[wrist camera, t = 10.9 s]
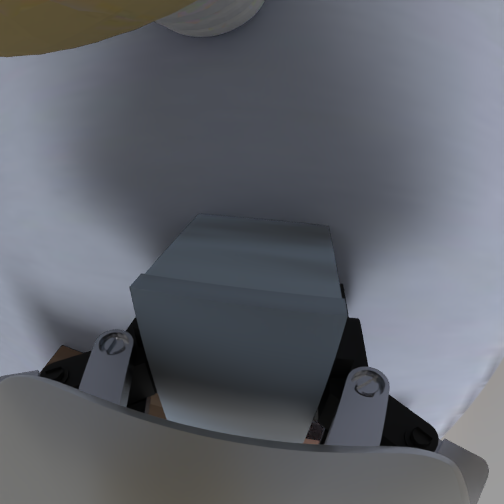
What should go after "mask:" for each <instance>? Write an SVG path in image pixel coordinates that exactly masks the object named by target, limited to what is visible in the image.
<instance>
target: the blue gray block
mask: <svg viewBox="0 0 504 504" xmlns="http://www.w3.org/2000/svg"><path fill="white" fill-rule="evenodd" d="M130 292H131V296H132V301H133V305H134V310H135V314H136V318H137V322H138V326H139V330H140V334H141V338H142V342H143V346H144V349H145V353H146V356H147V360H148V363H149V367H150V370H151V373H152V377H153V380H154V383H155V386H156V389H157V392H158V395H159V398H160V401H161V404H162V407H163V410H164V413H165V416H166V418H167V420H169V421H173V422H177V423H181V424H185V425H189V426H193V427H197V428H202V429H206V430H211V431H216V432H221V433H226V434H232V435H238V436H244V437H250V438H257V439H264V440H272V441H281V442H291V443H304V440H305V438H306V436H307V433H308V431H309V428H310V426H311V423H312V421H313V418H314V416H315V413H316V411H317V408H318V405H319V403H320V400H321V397H322V394H323V392H324V389H325V386H326V383H327V380H328V378H329V375H330V372H331V369H332V366H333V363H334V360H335V357H336V353H337V350H338V347H339V344H340V341H341V337H342V334H343V331H344V327H345V324H346V320H347V317H348V314H347V308H346V302H345V299H343V298H342V296H341V289H340V283H339V277H338V272H337V266H336V261H335V255H334V250H333V245H332V240H331V235H330V230H329V226H324V225H315V224H306V223H296V222H286V221H276V220H266V219H255V218H244V217H233V216H221V215H208V214H198V215H197V217H196V218H195V219H194V220H193V221H192V222H191V223H190V224H189V225H188V226H187V227H186V228H185V229H184V231H183V232H182V233H181V234H180V235H179V236H178V237H177V238H176V239H175V240H174V241H173V243H172V244H171V245H170V246H169V247H168V248H167V249H166V250H165V251H164V253H163V254H162V255H161V256H160V257H159V258H158V259H157V261H156V262H155V263H154V264H153V265H152V266H151V267H150V269H149V270H148V271H147V272H146V273H145V274H140V276H139V277H138V278H137V279H136V280H135V281H134V282H133V284H132V285H131V286H130Z"/></svg>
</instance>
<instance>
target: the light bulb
mask: <svg viewBox="0 0 504 504" xmlns="http://www.w3.org/2000/svg"><path fill="white" fill-rule="evenodd" d="M264 1H265V0H0V57H13V56H25V55H41V54H46V53H50V52H55V51H60V50H66V49H71V48H76V47H80V46H84V45H88V44H92V43H96V42H99V41H102V40H104V39H107V38H110V37H113V36H116V35H119V34H122V33H126V32H129V31H132V30H136V29H138V28H140V27H142V26H144V25H147V24H149V23H151V22H153V21H154V22H156V23H158V24H160V25H162V26H165V27H167V28H169V29H170V30H172V31H174V32H176V33H179V34H182V35H185V36H193V37H209V36H216V35H220V34H223V33H226V32H230V31H232V30H234V29H236V28H237V27H239V26H241V25H243V24H244V23H246V22H247V21H248V20H249V19H251V18H252V17H253V16H254V15H255V14H256V13H257V12H258V10H259V9H260V8H261V7H262V5H263V3H264Z"/></svg>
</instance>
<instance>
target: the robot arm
mask: <svg viewBox="0 0 504 504" xmlns="http://www.w3.org/2000/svg"><path fill="white" fill-rule="evenodd" d="M340 289H341V296H342V298H343V299H345V293H344V287H343V284H340ZM345 302H346V299H345ZM346 308H347V304H346ZM347 314H348V310H347ZM389 389H390V386H389V381H388V379H387V377H386V376H385V375H384V374H383V373H382V372H381V371H379V370H377V369H375V368H372V367H368V363H367V357H366V351H365V345H364V340H363V334H362V329H361V324H360V320H359V319H358V318H349V317H347V320H346V324H345V327H344V331H343V334H342V337H341V341H340V344H339V347H338V350H337V353H336V357H335V360H334V363H333V366H332V369H331V372H330V375H329V378H328V380H327V383H326V386H325V389H324V392H323V394H322V397H321V400H320V403H319V405H318V408H317V411H316V413H315V416H314V418H313V420H318V422H319V423H320V424H321V425H322V426H323V427H324V430H323V433H322V435H321V438H320V441H319V443H318V444H303V443H291V442H281V441H272V440H264V439H257V438H250V437H244V436H238V435H232V434H226V433H221V432H216V431H211V430H206V429H202V428H197V427H193V426H189V425H185V424H181V423H177V422H173V421H169V420H166V419H162V418H159V417H155V416H152V415H149V410H150V401H151V396H153V395H155V394H156V393H157V394H158V392H157V389H156V386H155V383H154V380H153V377H152V373H151V370H150V367H149V363H148V360H147V356H146V353H145V349H144V346H143V342H142V338H141V334H140V330H139V326H138V322H137V318H136V317H135V319H134V320H133V322H132V323H131V324H130V326H129V327H128V329H127V330H126V331H124V330H119V329H117V330H110V331H106V332H105V333H103V334H101V335H100V336H99V337H98V338H97V340H96V341H95V344H94V346H93V349H92V351H89V352H86V353H82V354H79V355H76V356H73V357H69V358H66V359H63V360H59V361H56V362H53V363H51V364H48V365H47V366H46V367H44V369H43V370H42V371H41V373H40V372H39V371H38V370H35V371H30V372H24V373H18V374H11V375H5V376H1V377H0V504H477V502H478V500H479V497H480V495H481V492H482V490H483V488H484V485H485V483H486V480H487V478H488V473H489V469H488V465H487V463H486V461H485V460H484V459H483V458H481V457H479V456H477V455H475V454H473V453H471V452H470V451H467V450H466V449H464V448H462V447H460V446H458V445H456V444H454V443H452V442H450V441H448V440H447V439H444V440H443V441H442V440H440V439H439V438H438V434H437V432H436V430H435V429H434V428H433V427H432V426H431V425H430V424H429V423H427V422H426V421H425V420H423V419H422V418H420V417H419V416H418V415H416V414H415V413H413V412H412V411H411V410H409V409H408V408H407V407H405V406H404V405H402V404H401V403H400V402H398V401H397V400H396V399H394V398H393V397H392V396H390V395H389Z"/></svg>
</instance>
